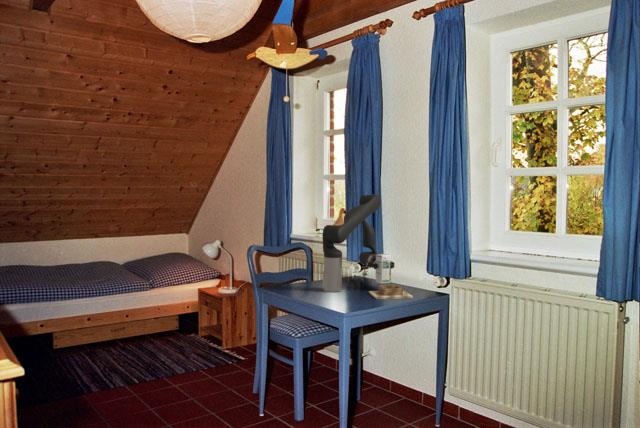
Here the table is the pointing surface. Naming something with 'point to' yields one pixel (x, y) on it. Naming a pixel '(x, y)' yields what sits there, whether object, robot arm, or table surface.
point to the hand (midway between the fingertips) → (384, 266)
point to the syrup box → (383, 268)
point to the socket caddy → (390, 292)
